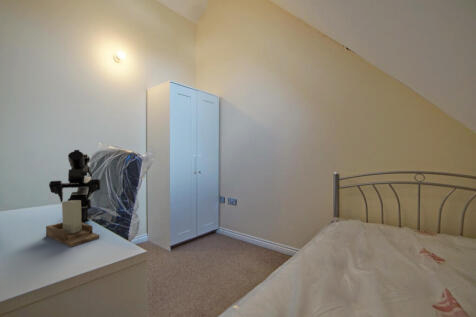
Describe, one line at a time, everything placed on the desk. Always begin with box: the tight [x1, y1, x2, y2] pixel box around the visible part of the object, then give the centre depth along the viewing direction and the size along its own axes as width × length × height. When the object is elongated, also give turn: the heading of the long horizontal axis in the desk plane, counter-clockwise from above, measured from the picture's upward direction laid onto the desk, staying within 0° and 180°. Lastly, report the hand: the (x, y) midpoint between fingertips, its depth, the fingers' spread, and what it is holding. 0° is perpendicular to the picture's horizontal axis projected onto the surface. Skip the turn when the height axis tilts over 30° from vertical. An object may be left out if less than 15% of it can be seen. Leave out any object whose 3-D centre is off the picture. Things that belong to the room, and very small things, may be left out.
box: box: [61, 200, 83, 234], centre depth 88 cm, size 5×4×13 cm
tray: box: [45, 222, 100, 248], centre depth 88 cm, size 10×21×4 cm, turn 61°
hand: (74, 200), depth 95 cm, fingers open, 9 cm apart
